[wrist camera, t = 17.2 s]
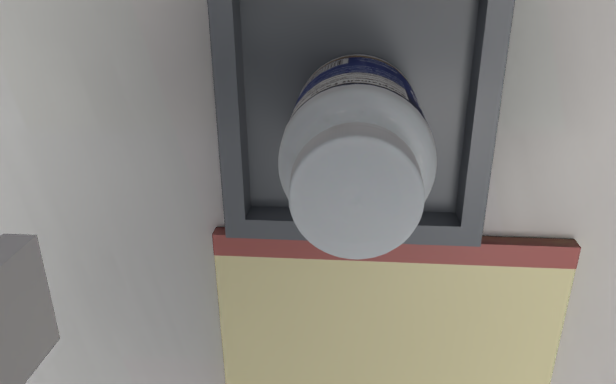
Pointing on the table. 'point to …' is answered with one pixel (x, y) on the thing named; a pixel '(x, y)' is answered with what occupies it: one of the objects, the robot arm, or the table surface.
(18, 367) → the robot arm
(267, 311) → the notepad
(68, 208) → the table surface
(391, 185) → the pill bottle
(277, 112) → the tray
